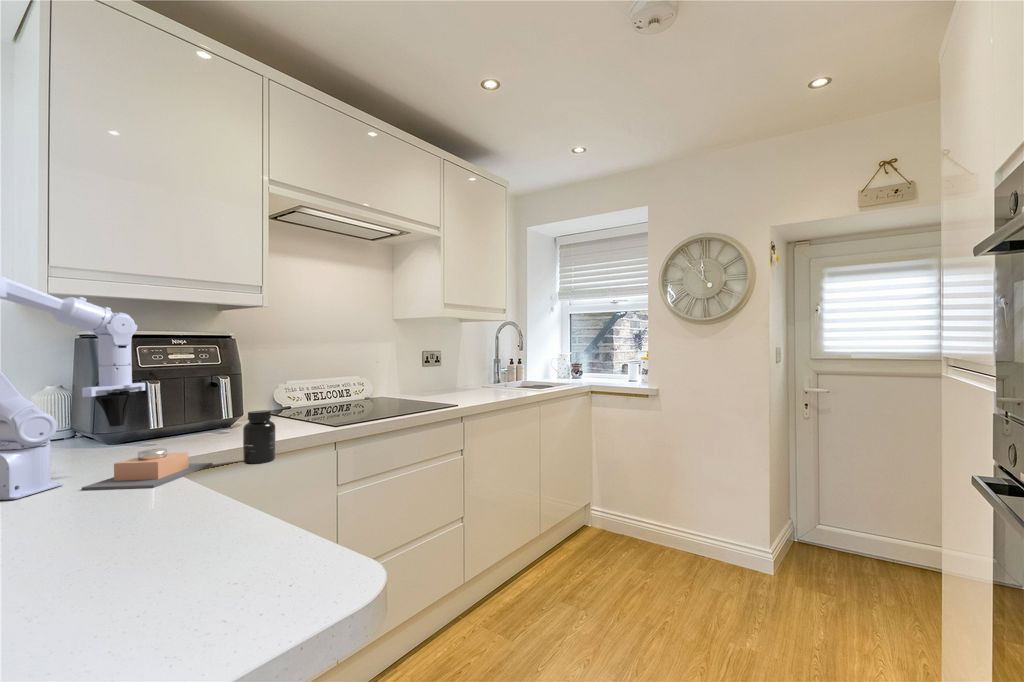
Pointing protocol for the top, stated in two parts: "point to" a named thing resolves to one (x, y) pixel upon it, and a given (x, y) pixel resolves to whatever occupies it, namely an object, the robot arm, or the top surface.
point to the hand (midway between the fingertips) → (116, 425)
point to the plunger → (152, 454)
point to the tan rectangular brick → (150, 467)
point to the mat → (145, 483)
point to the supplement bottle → (259, 438)
